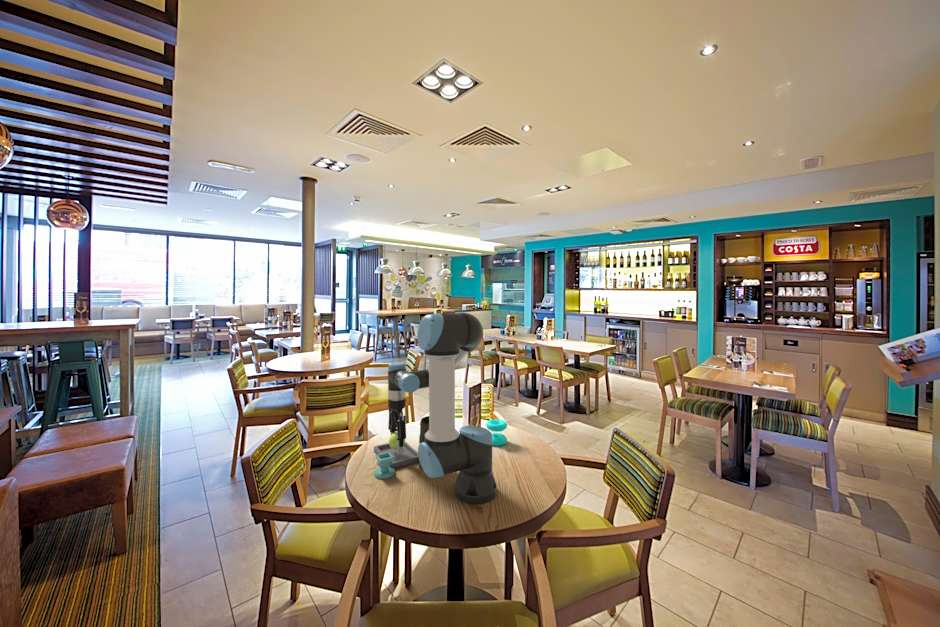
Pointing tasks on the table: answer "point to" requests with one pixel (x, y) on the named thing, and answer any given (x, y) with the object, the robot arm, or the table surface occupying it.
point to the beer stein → (423, 432)
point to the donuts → (497, 427)
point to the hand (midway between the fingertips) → (397, 450)
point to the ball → (394, 441)
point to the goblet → (384, 466)
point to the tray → (399, 455)
